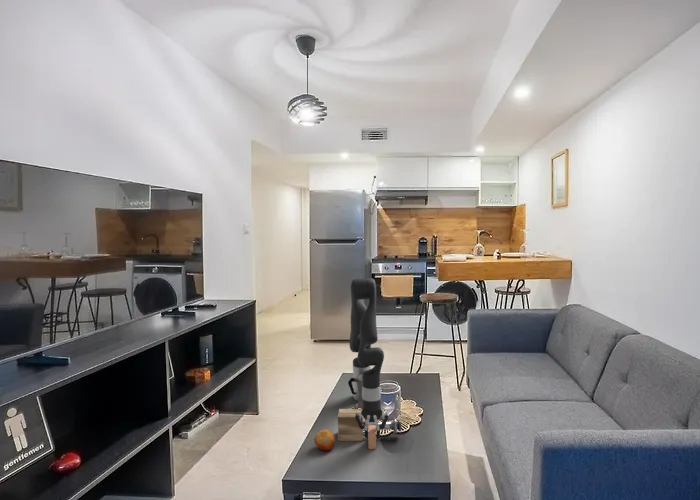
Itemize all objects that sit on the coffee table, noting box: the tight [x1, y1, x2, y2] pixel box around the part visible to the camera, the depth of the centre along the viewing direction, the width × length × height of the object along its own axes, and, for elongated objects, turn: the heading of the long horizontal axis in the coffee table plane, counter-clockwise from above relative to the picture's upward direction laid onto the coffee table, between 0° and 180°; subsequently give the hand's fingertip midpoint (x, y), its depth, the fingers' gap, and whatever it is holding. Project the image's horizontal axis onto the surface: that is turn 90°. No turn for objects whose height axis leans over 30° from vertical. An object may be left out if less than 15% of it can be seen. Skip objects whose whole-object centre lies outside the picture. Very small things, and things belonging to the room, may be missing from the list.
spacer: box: [367, 425, 377, 450], centre depth 175 cm, size 7×3×6 cm, turn 177°
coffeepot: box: [347, 374, 363, 409], centre depth 210 cm, size 15×9×18 cm, turn 107°
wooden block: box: [337, 408, 364, 442], centre depth 183 cm, size 8×10×10 cm
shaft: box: [362, 418, 402, 434], centre depth 182 cm, size 6×18×6 cm, turn 87°
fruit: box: [313, 428, 335, 451], centre depth 174 cm, size 8×8×8 cm
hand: (372, 438), depth 176 cm, fingers open, 3 cm apart
